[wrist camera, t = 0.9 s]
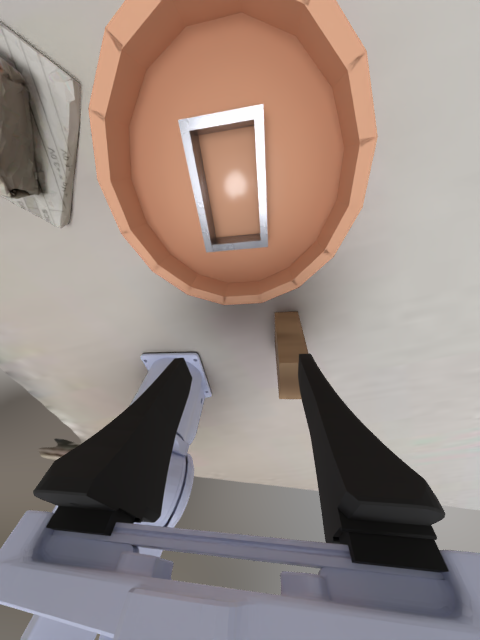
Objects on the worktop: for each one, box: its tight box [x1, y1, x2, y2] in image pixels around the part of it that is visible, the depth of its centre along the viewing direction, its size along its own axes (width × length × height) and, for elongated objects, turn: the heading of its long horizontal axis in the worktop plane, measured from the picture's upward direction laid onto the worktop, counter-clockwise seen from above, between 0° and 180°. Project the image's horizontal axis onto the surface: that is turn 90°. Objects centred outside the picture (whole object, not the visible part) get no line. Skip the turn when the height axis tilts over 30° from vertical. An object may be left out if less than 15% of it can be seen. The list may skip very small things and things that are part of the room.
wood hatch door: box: [275, 311, 308, 399], centre depth 20 cm, size 5×2×7 cm, turn 7°
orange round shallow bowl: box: [88, 0, 378, 305], centre depth 14 cm, size 16×16×4 cm
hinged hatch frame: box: [178, 104, 268, 252], centre depth 14 cm, size 7×5×2 cm, turn 7°
